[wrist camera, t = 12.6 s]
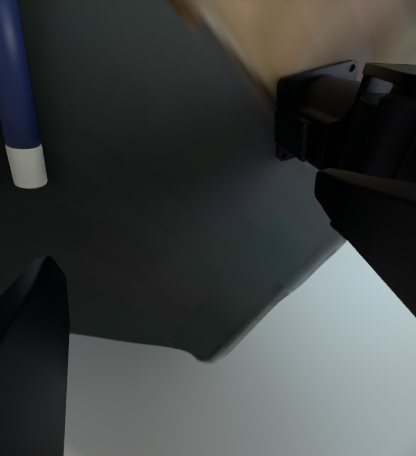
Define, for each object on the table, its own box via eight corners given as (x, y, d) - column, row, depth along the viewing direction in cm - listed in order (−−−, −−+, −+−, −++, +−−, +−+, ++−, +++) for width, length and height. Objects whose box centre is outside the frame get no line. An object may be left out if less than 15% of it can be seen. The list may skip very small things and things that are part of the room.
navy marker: (-60, -123, 11) (-60, -135, 10) (-2, -101, 12) (4, -109, 11) (11, 178, 18) (17, 190, 17) (43, 174, 19) (50, 186, 18)
